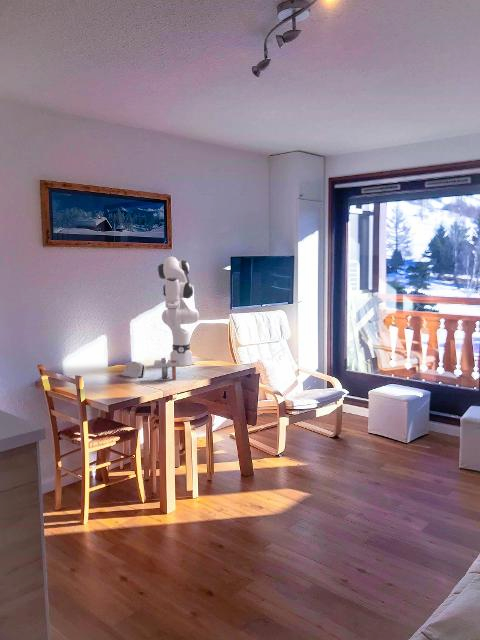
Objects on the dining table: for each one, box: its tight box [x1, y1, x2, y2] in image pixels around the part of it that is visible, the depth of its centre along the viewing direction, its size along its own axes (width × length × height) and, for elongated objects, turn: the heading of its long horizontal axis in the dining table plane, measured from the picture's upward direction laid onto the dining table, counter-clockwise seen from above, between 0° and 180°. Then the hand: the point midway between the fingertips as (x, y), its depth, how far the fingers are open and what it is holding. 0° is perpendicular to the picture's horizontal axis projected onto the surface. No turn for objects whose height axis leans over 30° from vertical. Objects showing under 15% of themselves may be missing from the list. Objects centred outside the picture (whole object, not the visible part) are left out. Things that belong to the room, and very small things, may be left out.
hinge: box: [121, 361, 146, 379], centre depth 346 cm, size 17×5×10 cm, turn 48°
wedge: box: [171, 360, 177, 381], centre depth 334 cm, size 2×2×12 cm
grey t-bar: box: [153, 357, 181, 382], centre depth 334 cm, size 10×15×13 cm, turn 96°
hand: (173, 326), depth 339 cm, fingers open, 8 cm apart
